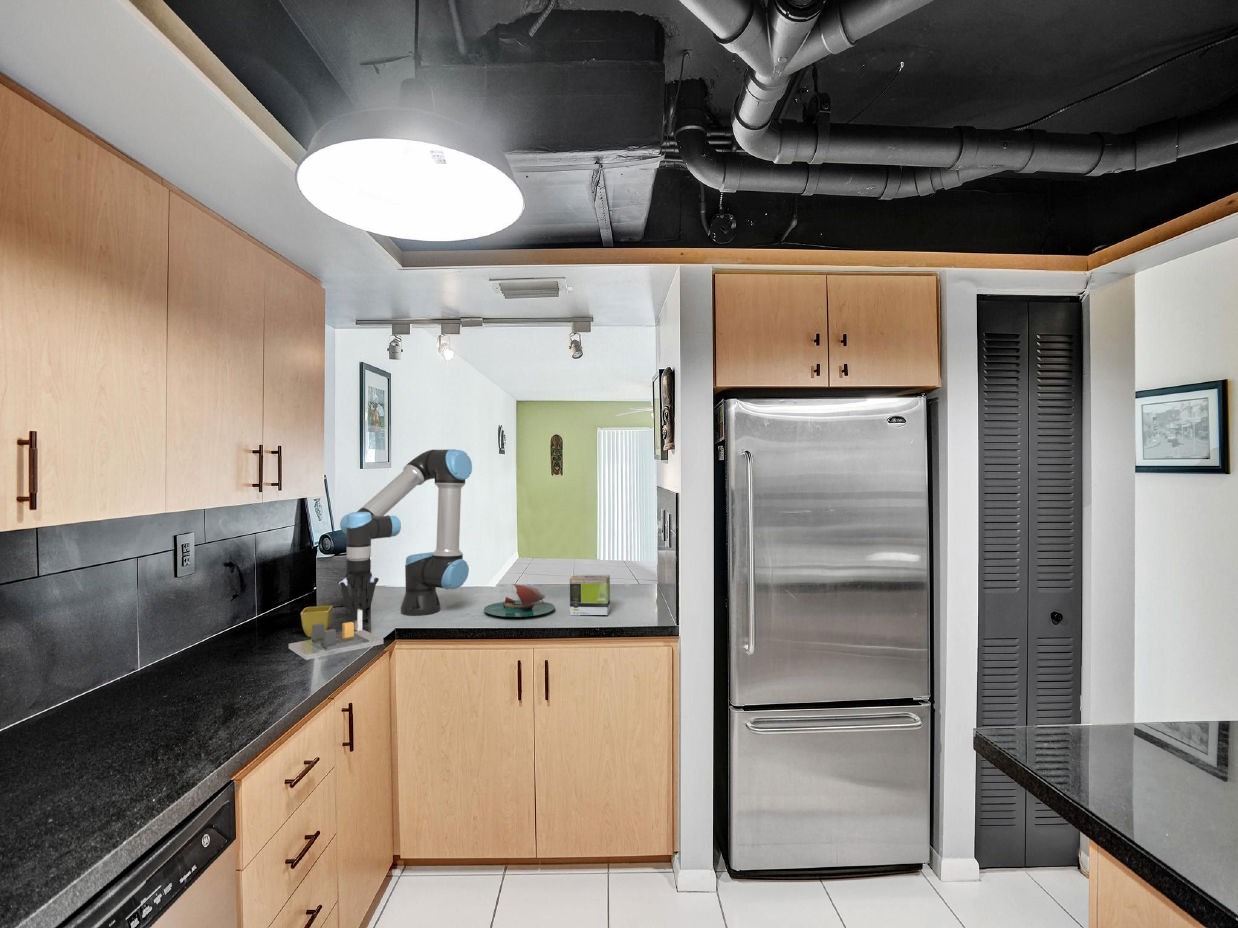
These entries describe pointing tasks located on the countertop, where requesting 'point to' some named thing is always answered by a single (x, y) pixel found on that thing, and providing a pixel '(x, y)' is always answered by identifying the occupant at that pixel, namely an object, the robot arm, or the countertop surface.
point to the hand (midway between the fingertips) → (358, 629)
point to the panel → (317, 649)
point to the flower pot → (315, 618)
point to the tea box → (589, 594)
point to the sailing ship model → (521, 604)
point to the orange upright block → (347, 630)
